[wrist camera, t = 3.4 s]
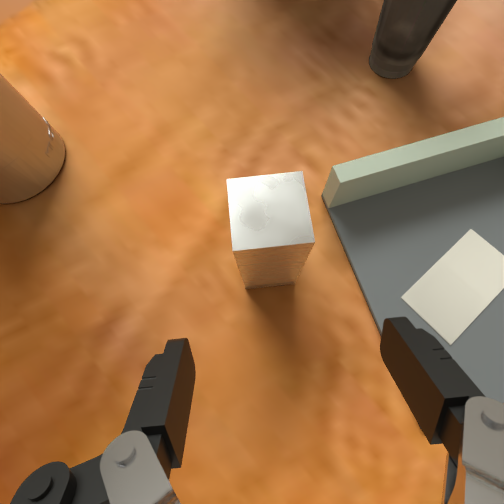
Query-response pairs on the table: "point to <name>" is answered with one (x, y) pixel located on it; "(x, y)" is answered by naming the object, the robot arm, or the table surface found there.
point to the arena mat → (437, 262)
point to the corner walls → (414, 162)
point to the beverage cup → (405, 34)
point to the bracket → (270, 228)
